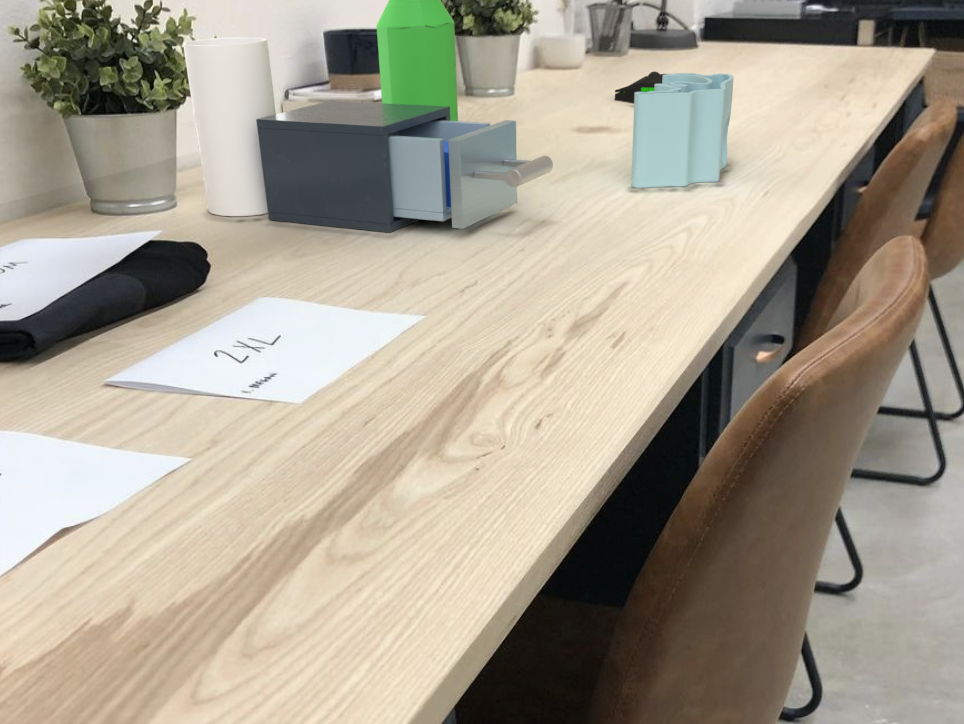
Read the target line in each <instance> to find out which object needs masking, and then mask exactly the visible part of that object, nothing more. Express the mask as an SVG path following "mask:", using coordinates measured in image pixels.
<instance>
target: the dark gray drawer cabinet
mask: <svg viewBox="0 0 964 724" xmlns="http://www.w3.org/2000/svg"><path fill="white" fill-rule="evenodd" d="M432 120H448V121H450V107H449V106H428V105H407V104H387V103H382V102H366V101H365V102H364V101H363V102H362V101H345V100H344V101H343V100H342V101H341V100H328V101H324V102H320V103H315V104H311V105H308V106H307V105H306V106H304V107H299V108H296V109H291V110H288V111H284V112H283V111H282V112H280V113H276V114H275V115H271V116H267V117H263V118H259V119H256V122H257V129H258V137H259V145H260V153H261V161H262V169H263V177H264V185H265V193H266V201H267V209H268V213H267V216H268V220H269V221H274V222H275V221H276V222H284V223H285V222H286V223H293V224H294V223H295V224H302V225H303V224H305V225H312V226H324V227H333V228H341V229H342V228H343V229H352V230H361V231H369V232H370V231H371V232H381V233H389V234H391V233H393V232H395V231H397V230H400V229H401V228H404V227H407V226H408V225H411V224H414V223H415V222H419V221H420V220H421V219H413V218H403V217H393V203H392V189H391V174H390V160H389V146H388V135H387V134H390V133H393V132H397V131H400V130H403V129H406V128H410V127H413V126H416V125H419V124H422V123H426V122H429V121H432Z"/></svg>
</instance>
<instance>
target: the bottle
mask: <svg viewBox="0 0 964 724" xmlns="http://www.w3.org/2000/svg"><path fill="white" fill-rule="evenodd" d="M376 36H377V39H376V40H377V49H378V50H377V51H378V65H379V77H380V92H381V103H387V104H407V105H428V106H449V107H450V121H459V113H458V112H459V110H458V83H457V82H458V81H457V60H456V59H457V58H456V57H457V55H456V33H455V21H454V19H453V17H452V16H451V15H450V13H449V11H448V10H447V8H446V6H445V5H444V4H443V1H441V0H388V2H387V4H386V6H385V7H384V9H383V11H382V14H381V15H380V17H379V20H378V21H377V23H376Z"/></svg>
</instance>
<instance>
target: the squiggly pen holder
mask: <svg viewBox="0 0 964 724" xmlns="http://www.w3.org/2000/svg"><path fill="white" fill-rule="evenodd" d="M664 74H665V75H663V76H662V84H655V87H654V91H648V92H635V94H634V103H633V123H632V124H633V126H632V149H631V150H632V152H631V153H632V154H631V180H630V181H631V182H630V186H631V187H633V188H637V189H644V188H662V187H663V188H665V187H667V188H668V187H688V186H689V185H691V184H695V183H712V182H713V183H716V182H719V181H720V176H721V175H720V174H721V171H722V170H723V169H725V168H726V167H727V165H728V132H729V125H730V120H731V115H732V102H733V90H734V76H733V75H731V74H728V73H713V74H701V73H700V74H699V73H696V72H675V73H664Z"/></svg>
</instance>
